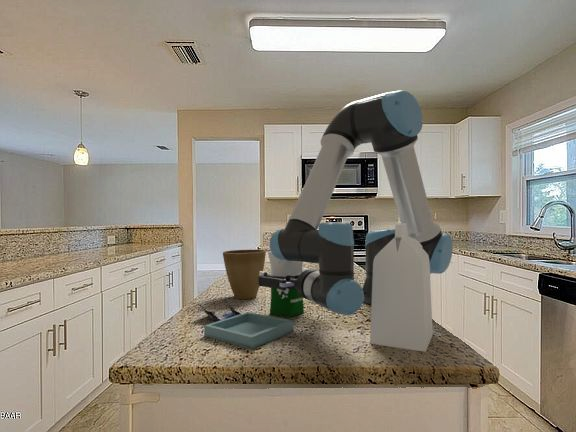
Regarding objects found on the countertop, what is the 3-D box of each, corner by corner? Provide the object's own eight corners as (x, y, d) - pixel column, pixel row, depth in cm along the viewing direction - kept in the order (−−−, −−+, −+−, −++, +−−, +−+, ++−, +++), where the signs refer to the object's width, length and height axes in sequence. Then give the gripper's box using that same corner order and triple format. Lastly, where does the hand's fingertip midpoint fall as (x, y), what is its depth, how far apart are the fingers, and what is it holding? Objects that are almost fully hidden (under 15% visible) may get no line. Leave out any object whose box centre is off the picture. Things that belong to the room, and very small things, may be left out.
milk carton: (289, 319, 103) (288, 245, 102) (264, 314, 108) (264, 244, 108) (308, 312, 109) (307, 243, 109) (284, 307, 115) (283, 242, 115)
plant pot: (270, 292, 137) (269, 248, 137) (261, 302, 123) (260, 253, 123) (230, 292, 139) (230, 248, 139) (217, 301, 125) (216, 253, 125)
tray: (293, 331, 92) (293, 320, 92) (251, 349, 80) (251, 337, 80) (248, 321, 101) (248, 311, 101) (204, 336, 89) (204, 325, 89)
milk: (383, 328, 93) (382, 223, 93) (432, 334, 88) (431, 223, 88) (370, 343, 83) (368, 224, 83) (425, 351, 77) (424, 224, 77)
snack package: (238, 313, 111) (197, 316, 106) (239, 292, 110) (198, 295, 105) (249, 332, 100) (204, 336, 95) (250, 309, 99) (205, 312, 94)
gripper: (267, 307, 86) (241, 290, 106) (359, 296, 96) (320, 283, 116) (267, 274, 86) (241, 264, 106) (359, 267, 96) (320, 258, 116)
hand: (282, 274), depth 111 cm, fingers open, 13 cm apart
